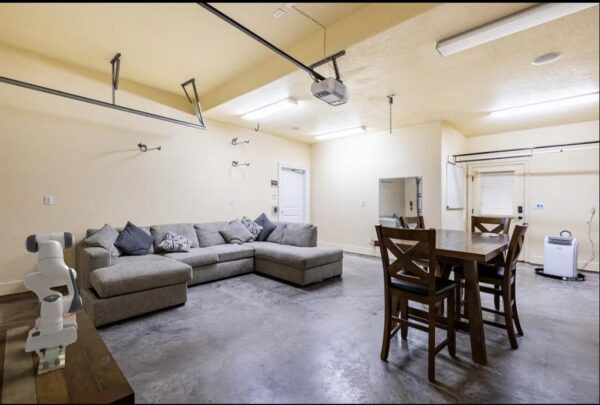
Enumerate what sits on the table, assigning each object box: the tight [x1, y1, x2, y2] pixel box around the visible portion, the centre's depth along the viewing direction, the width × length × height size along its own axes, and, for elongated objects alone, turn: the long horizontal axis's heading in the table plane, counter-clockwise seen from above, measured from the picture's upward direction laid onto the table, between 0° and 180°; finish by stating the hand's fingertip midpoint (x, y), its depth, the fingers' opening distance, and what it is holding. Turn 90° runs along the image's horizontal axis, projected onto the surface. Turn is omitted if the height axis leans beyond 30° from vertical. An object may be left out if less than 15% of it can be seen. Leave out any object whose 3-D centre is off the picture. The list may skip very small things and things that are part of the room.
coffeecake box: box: [59, 311, 77, 347], centre depth 168 cm, size 15×7×20 cm, turn 71°
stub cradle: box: [37, 347, 66, 376], centre depth 146 cm, size 16×10×4 cm, turn 40°
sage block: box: [44, 345, 60, 365], centre depth 146 cm, size 9×5×7 cm, turn 40°
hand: (52, 353), depth 146 cm, fingers open, 7 cm apart
